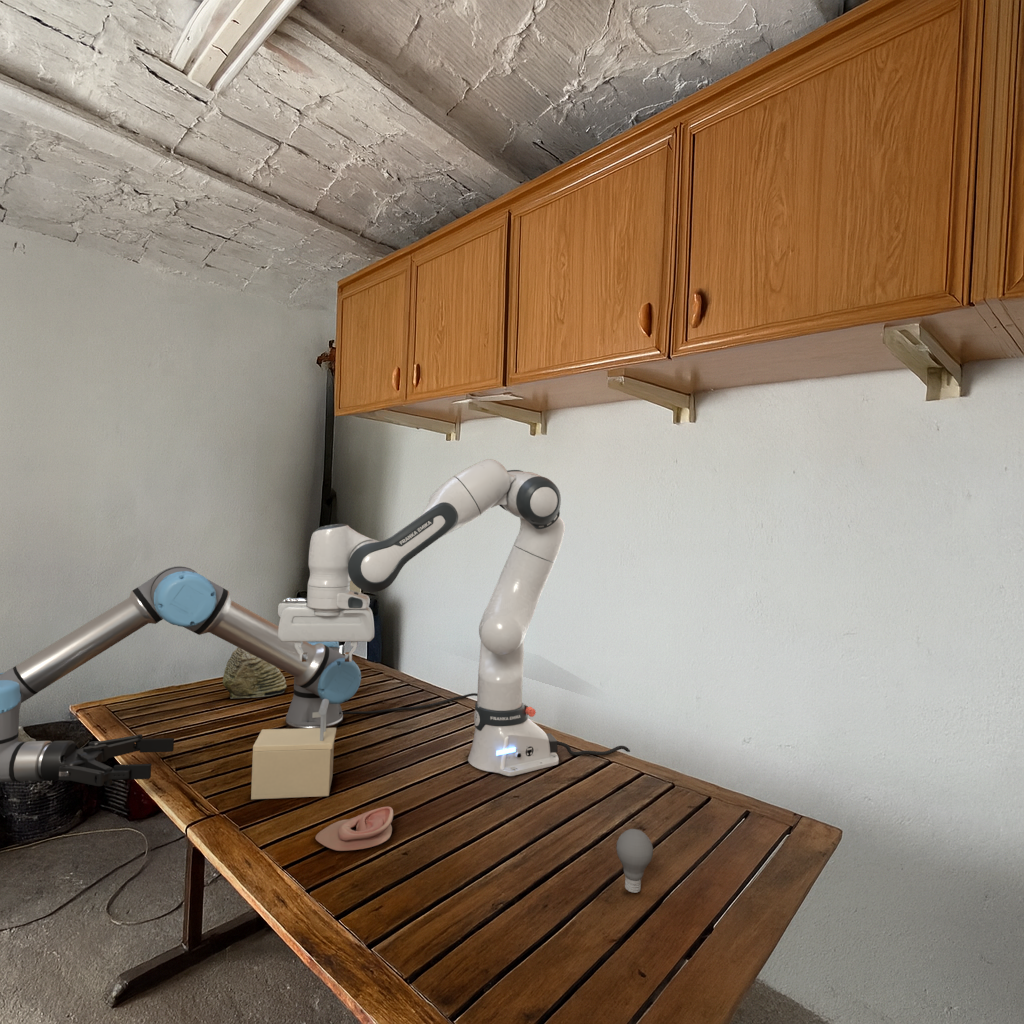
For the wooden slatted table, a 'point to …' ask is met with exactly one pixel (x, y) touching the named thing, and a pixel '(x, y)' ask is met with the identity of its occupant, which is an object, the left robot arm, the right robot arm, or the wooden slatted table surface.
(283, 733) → the lid
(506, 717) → the right robot arm
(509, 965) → the wooden slatted table surface
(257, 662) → the fossil
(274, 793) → the chest
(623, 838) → the light bulb
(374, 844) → the anatomical model
